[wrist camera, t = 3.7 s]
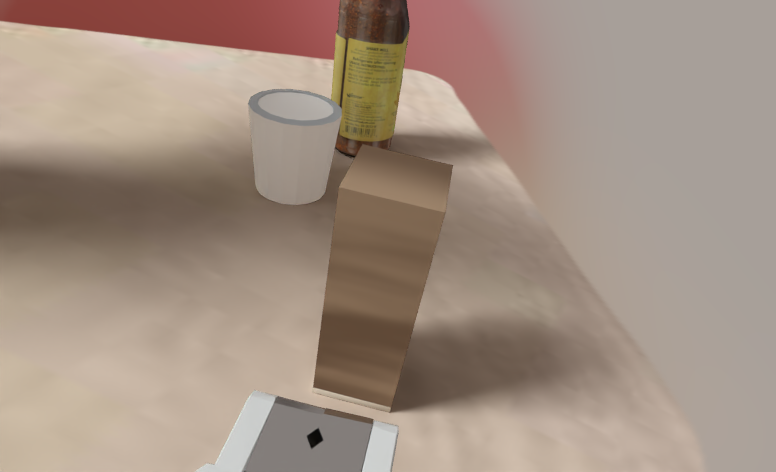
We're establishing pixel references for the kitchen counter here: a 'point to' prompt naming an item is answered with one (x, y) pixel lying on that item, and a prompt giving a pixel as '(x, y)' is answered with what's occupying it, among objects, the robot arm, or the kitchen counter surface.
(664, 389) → the kitchen counter surface
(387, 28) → the sauce bottle
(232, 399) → the kitchen counter surface
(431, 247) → the walnut block
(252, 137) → the white tapered cylinder
